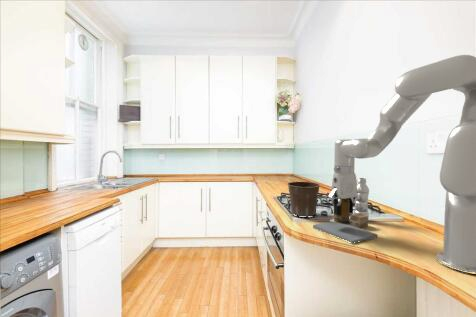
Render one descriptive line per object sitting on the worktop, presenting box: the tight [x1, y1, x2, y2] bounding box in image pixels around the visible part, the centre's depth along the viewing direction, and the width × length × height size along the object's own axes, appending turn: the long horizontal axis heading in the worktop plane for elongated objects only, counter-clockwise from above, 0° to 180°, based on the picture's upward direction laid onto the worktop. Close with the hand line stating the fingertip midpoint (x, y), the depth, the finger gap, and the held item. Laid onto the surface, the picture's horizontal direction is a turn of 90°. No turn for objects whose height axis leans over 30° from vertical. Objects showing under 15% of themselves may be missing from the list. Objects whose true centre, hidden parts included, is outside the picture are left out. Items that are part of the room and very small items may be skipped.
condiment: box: [328, 196, 356, 225], centre depth 102 cm, size 7×8×12 cm
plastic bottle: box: [353, 177, 370, 219], centre depth 117 cm, size 6×7×20 cm
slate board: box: [312, 221, 378, 243], centre depth 103 cm, size 20×14×1 cm
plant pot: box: [286, 181, 321, 217], centre depth 127 cm, size 16×16×16 cm
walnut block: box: [349, 213, 369, 229], centre depth 110 cm, size 5×5×5 cm
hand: (343, 212), depth 102 cm, fingers closed on condiment, 6 cm apart
